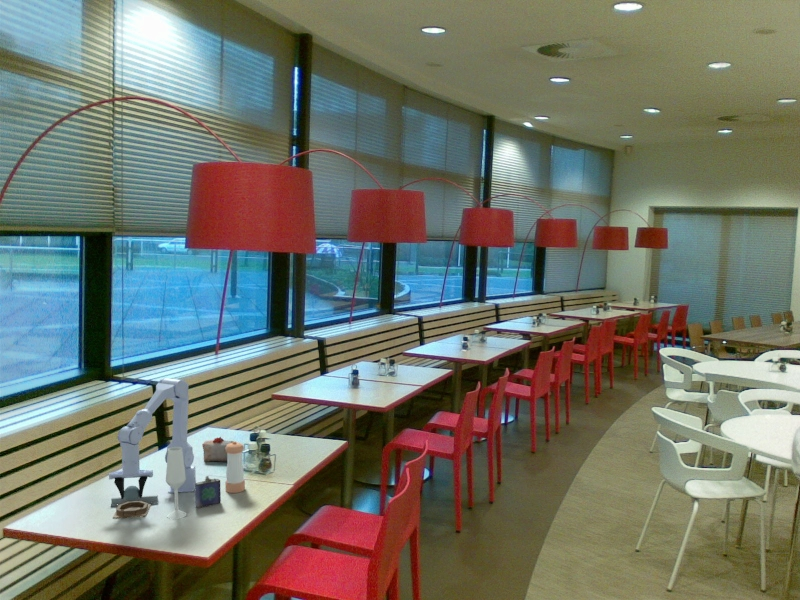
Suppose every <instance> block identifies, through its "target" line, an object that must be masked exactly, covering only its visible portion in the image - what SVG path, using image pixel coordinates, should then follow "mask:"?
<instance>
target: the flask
mask: <svg viewBox="0 0 800 600" xmlns="http://www.w3.org/2000/svg"><path fill="white" fill-rule="evenodd" d="M221 494H222V493H221V480H220V479H219V478H209V475H206V476H205V479H204V480H203V481H198V482H196V484H195V489H194V495H195V496H194V498H195V499H194V500H195V502H194V503H195V504H194V506H195V508H196V509H198V508H199V509H201V508H207V507H210V506H216V505H221V501H222V500H221Z"/></svg>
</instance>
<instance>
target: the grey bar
mask: <svg viewBox="0 0 800 600" xmlns="http://www.w3.org/2000/svg"><path fill="white" fill-rule="evenodd" d="M135 501H143V502H146V503H148V504H151V505H156V504H157V505H158V503H157V502H159V495H157V494H155V495H142V498H138V499H137V500H135ZM126 502H129V501H127V500H126V499H125V498H124V499H121V496H120V497H112V498H111V503H110V507H111V506H112V507H116V506H118V505H120V504H123V503H126ZM116 504H118V505H116Z"/></svg>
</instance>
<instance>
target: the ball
mask: <svg viewBox="0 0 800 600" xmlns="http://www.w3.org/2000/svg"><path fill="white" fill-rule="evenodd" d="M124 498H125V499H126V500H127V501H129V502H133V501H135V500H137V499H138V498H139V487H138V486H136V485H129V486H128V487H126V488H124Z"/></svg>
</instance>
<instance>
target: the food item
mask: <svg viewBox="0 0 800 600" xmlns="http://www.w3.org/2000/svg"><path fill="white" fill-rule="evenodd" d="M233 441H234V440H224V439H223V438H222V436H220V437H215V438H214V439H213V440H205V441H204V442H203V443H202V449H203V462H225V463H226V462H227V452H226V450H225V447H226V446H227V445H228V444H230V443H232V442H233Z"/></svg>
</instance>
